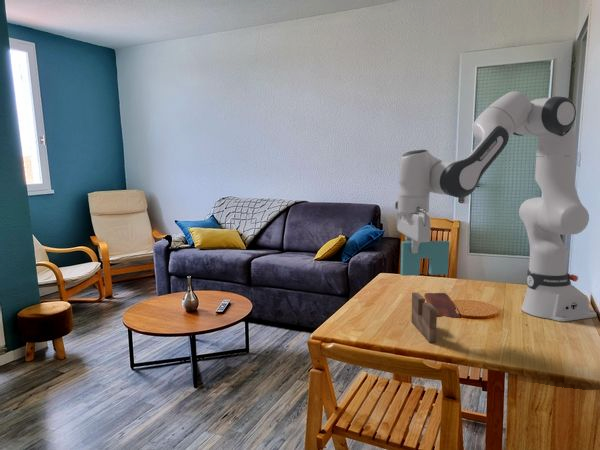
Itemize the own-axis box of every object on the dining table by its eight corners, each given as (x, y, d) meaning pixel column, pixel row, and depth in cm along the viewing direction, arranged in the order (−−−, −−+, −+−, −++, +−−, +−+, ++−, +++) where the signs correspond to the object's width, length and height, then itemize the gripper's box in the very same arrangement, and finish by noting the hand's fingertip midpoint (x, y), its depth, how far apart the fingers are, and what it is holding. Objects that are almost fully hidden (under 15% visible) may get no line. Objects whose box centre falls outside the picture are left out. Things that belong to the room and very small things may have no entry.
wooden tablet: (462, 320, 143) (462, 315, 143) (431, 318, 145) (431, 313, 145) (449, 294, 169) (449, 290, 169) (422, 293, 171) (423, 289, 170)
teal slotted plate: (445, 272, 131) (446, 240, 130) (448, 274, 129) (449, 241, 128) (400, 273, 130) (401, 241, 129) (402, 275, 128) (403, 242, 127)
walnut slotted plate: (417, 321, 140) (418, 292, 139) (435, 342, 125) (436, 309, 123) (411, 322, 140) (412, 292, 139) (429, 342, 125) (430, 309, 123)
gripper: (437, 209, 116) (435, 259, 118) (412, 202, 136) (411, 244, 138) (414, 210, 116) (413, 259, 118) (393, 202, 136) (392, 245, 138)
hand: (412, 251), depth 128 cm, fingers closed on teal slotted plate, 2 cm apart
